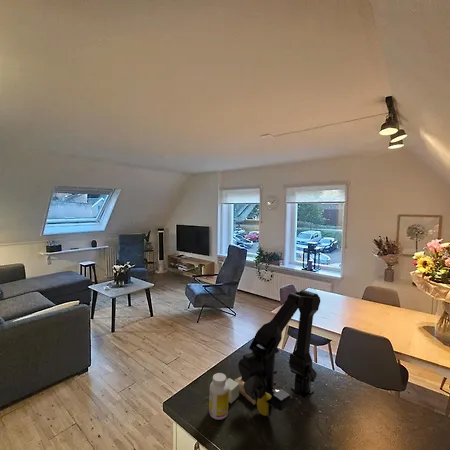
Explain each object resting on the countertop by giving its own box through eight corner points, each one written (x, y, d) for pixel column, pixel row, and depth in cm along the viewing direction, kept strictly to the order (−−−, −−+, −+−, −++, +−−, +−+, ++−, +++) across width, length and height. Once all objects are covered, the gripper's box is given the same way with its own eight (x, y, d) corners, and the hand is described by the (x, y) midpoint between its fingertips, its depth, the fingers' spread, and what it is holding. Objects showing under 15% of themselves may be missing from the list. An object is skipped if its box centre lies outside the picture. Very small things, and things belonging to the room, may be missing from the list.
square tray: (254, 377, 107) (254, 369, 107) (274, 392, 99) (274, 384, 99) (234, 388, 101) (235, 379, 101) (253, 405, 92) (254, 395, 92)
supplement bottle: (231, 410, 89) (232, 375, 88) (221, 423, 83) (222, 386, 83) (215, 403, 92) (216, 368, 92) (205, 415, 87) (206, 378, 86)
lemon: (270, 409, 90) (271, 387, 90) (274, 421, 85) (275, 398, 84) (255, 409, 90) (256, 387, 90) (257, 421, 85) (258, 398, 84)
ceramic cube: (228, 390, 100) (228, 377, 99) (238, 396, 96) (239, 383, 96) (220, 397, 96) (221, 384, 95) (231, 403, 92) (231, 390, 92)
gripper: (230, 361, 89) (229, 404, 90) (270, 392, 74) (268, 443, 75) (253, 351, 96) (251, 391, 97) (293, 378, 81) (291, 425, 82)
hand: (264, 410), depth 87 cm, fingers closed on lemon, 5 cm apart
